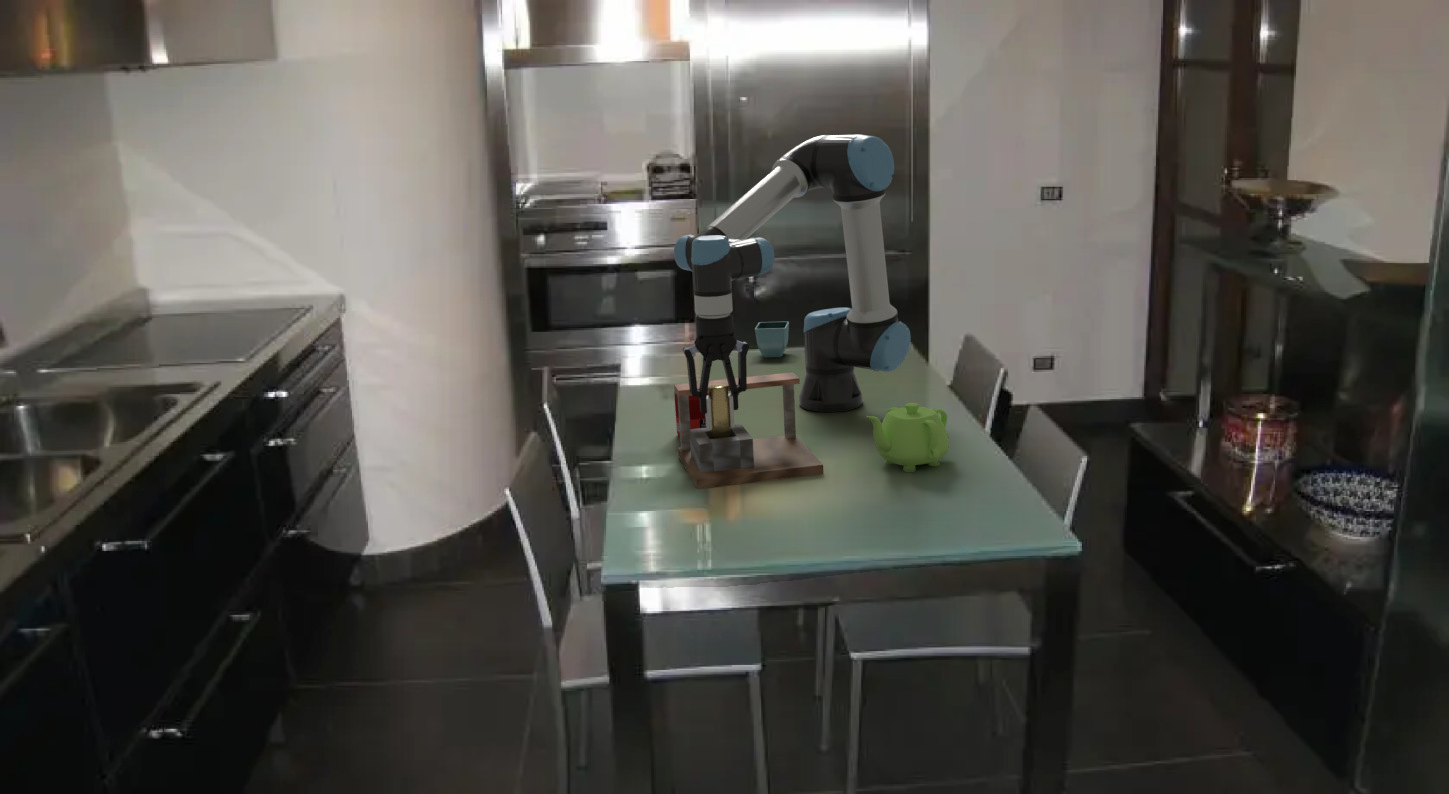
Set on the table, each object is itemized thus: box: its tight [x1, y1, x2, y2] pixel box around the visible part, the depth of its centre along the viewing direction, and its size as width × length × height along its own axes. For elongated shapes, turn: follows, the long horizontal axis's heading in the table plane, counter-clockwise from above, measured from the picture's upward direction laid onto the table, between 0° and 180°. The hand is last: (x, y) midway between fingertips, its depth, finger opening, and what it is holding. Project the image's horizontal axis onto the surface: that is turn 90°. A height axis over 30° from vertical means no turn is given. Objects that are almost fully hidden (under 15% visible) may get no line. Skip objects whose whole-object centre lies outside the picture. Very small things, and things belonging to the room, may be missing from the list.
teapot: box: [866, 402, 950, 473], centre depth 250 cm, size 16×14×13 cm
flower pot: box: [754, 321, 790, 359], centre depth 348 cm, size 9×9×9 cm
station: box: [673, 371, 824, 490], centre depth 255 cm, size 26×22×16 cm
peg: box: [708, 384, 731, 439], centre depth 251 cm, size 4×4×14 cm
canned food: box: [673, 389, 709, 438], centre depth 278 cm, size 8×8×11 cm
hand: (720, 426), depth 251 cm, fingers closed on peg, 4 cm apart
